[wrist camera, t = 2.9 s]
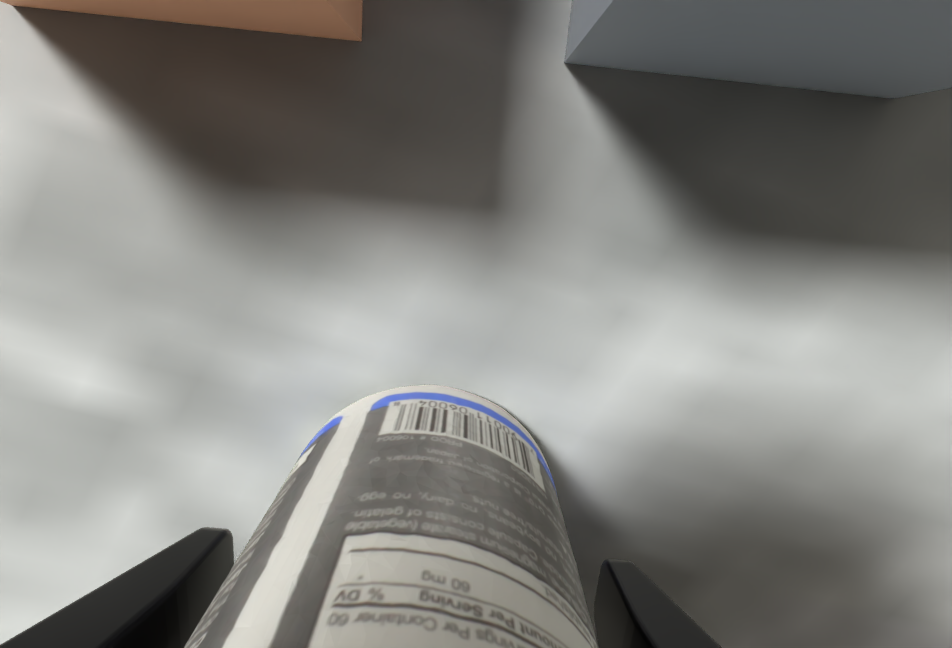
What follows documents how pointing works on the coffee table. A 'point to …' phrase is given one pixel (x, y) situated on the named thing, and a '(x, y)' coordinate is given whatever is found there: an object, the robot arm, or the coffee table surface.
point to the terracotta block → (230, 13)
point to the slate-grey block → (773, 42)
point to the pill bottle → (408, 538)
